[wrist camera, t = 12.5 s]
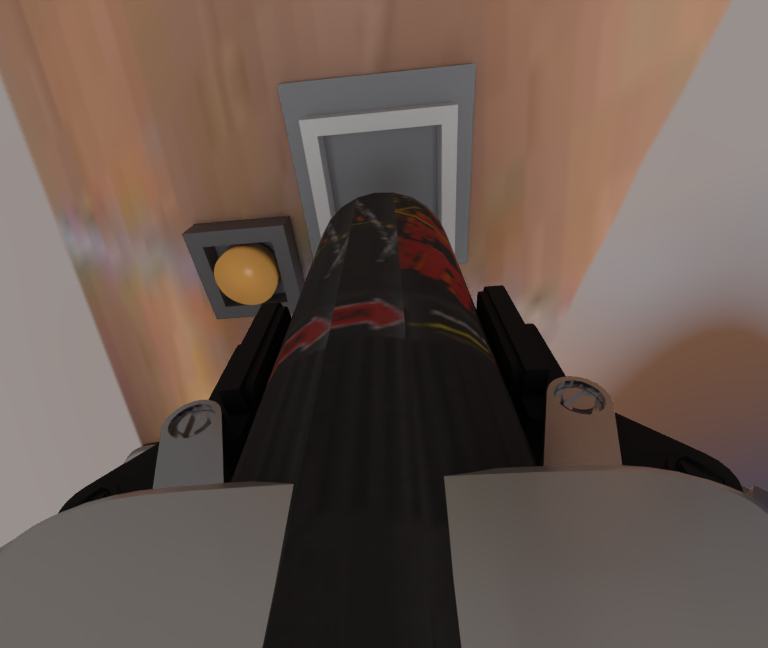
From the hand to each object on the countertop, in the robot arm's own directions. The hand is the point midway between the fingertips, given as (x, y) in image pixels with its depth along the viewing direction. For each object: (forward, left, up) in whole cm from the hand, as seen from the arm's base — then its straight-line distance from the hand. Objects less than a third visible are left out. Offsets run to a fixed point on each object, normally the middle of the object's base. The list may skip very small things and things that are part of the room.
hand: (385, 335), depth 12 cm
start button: (-6, +12, -20) cm, 24 cm away
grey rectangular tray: (0, 0, -20) cm, 20 cm away
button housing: (-6, +12, -20) cm, 24 cm away
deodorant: (0, 0, -6) cm, 6 cm away
